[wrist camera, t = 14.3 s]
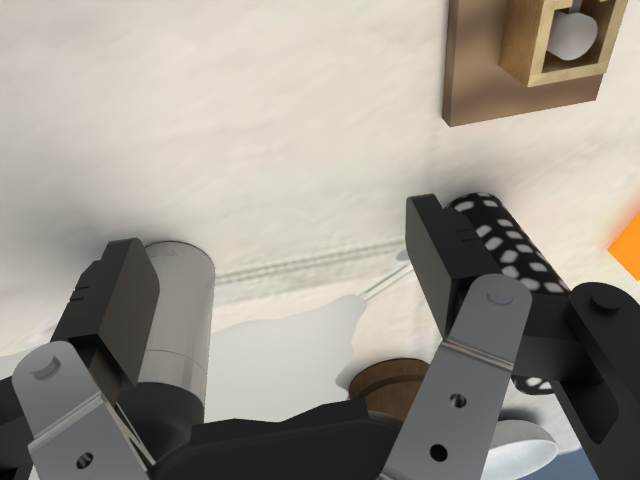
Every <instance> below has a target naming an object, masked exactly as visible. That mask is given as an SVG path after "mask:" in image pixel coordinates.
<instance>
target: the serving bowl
mask: <svg viewBox="0 0 640 480" xmlns="http://www.w3.org/2000/svg"><path fill="white" fill-rule="evenodd" d="M558 450H559V447H558V445H557V443H556V442H555V440H554V439H553V438H552V437H551V435H550V434H549V433H548V432H547V431H545V430H544V429H543V428H541V427H540V426H538V425H536V424H534V423H531V422H528V421H524V420H504V421H499V422H497V425H496V428H495V431H494V435H493V438H492V442H491V445H490V448H489V452H488V455H487V459H486V462H485V465H484V469H483V472H482V476H481V479H480V480H515V479H518V478H521V477H523V476H526V475H528V474H530V473H532V472H534V471H536V470H538V469H540V468H542V467H543V466H545V465H546V464H548V463H549V462H550V461H551V460H552V459H554V458H555V456H556V455H557V453H558Z"/></svg>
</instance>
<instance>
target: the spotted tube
mask: <svg viewBox="0 0 640 480" xmlns="http://www.w3.org/2000/svg"><path fill="white" fill-rule="evenodd" d="M451 207H453V208H455V209H456V210H458V211H459V212H461V213H462V214H464V215H465V216H467V218H468V219H469V221H470V223H471V224H472V226H473V227H474V230H476V232H477V233H478V235H479V237H480V240H482V241H483V243H484V244H485V246H486V247H487V249H488V250H489V252H490V254H491V255H492V257H493V258H494V260H495V261H496V263H497V264H498V266H499V268H500V269H501V271H502V272H503V274H504V275H507V276H510V277H513V278H515V279H517V280H519V281H520V282H522V283H523V284H524V285H525V286H526V287H527V288H528V289H529V291H530V292H533V293H537V294H545V295H556V296H567V297H569V296H570V293H571V290H570V289H569V288H568V287H567V285H566V284H565V283H564V282H563V280H562V279H561V278H560V276H559V275H558V274H557V273H556V271H555V270H554V269H553V268H552V266H551V265H550V264H549V263H548V261H547V260H546V259H545V257H544V256H543V255H542V254H541V252H540V251H539V250H538V249H537V247H536V246H535V245H534V244H533V242H532V241H531V240H530V238H529V237H528V236H527V235H526V233H525V232H524V231H523V230H522V228H521V227H520V226H519V225H518V223H517V222H516V221H515V219H514V218H513V217H512V216H511V214H510V213H509V212H508V211H507V209H506V208H505V207H504V206H503V204H502V203H501V202H500V200H499V199H498V198H496V197H495V196H493V195H490V194H486V193H474V194H469V195H466V196H463V197H461V198H459V199H457V200H455V201H453V202H452V203H450V204H449V205H448V206H447V207H446V208H451ZM511 379H512V381H513V383H514V385H515V387H516V389H518V390H519V391H520V392H522V393H525V394H529V395H548V394H553V393H554V391H553V390H552V388H551V386H550V384H549V382H548V380H547V379H540V378H533V377H525V376H518V375H511Z"/></svg>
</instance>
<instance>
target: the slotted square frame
mask: <svg viewBox="0 0 640 480" xmlns="http://www.w3.org/2000/svg"><path fill="white" fill-rule="evenodd" d="M627 2H628V0H582V2H581V6H580V11H579V13H582V14H584V15H587V16H589V17H592V18H593V19H594V20H595V21H596V23H597V35H596V38H595V40H594V42H593V44H592V46H591V47H590V48H589V49H588V50H587V51H586V52H585V53H584V54H583V55H581V56H580V57H578V58H576V59H573V60H563V59H561V58H560V57H558V56H556V55H554V54H552V53H551V52H549V51H547V50H546V49H547V44H548V39H549V34H550V29H551V25H552V20H553V15H554V10H557V9H563V8H568V7H572V3H573V0H508V2H507V9H506V16H505V23H504V30H503V37H502V44H501V51H500V58H499V65H498V66H499V67H500V68H502V69H503V70H505V71H506V72H507V73H509V74H510V75H511V76H513V77H514V78H515V79H517V80H518V81H519V82H521V83H522V84H523V85H525V86H526V87H533V86H538V85H543V84H549V83H554V82H560V81H565V80H571V79H576V78H582V77H587V76H593V75H598V74H604V73H606V70H607V67H608V64H609V60H610V57H611V54H612V51H613V47H614V44H615V41H616V38H617V34H618V31H619V28H620V25H621V21H622V18H623V15H624V12H625V8H626V5H627Z"/></svg>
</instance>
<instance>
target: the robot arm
mask: <svg viewBox="0 0 640 480" xmlns="http://www.w3.org/2000/svg"><path fill="white" fill-rule="evenodd" d="M405 239H406V248H407V252H408V256H409V258H410V261H411V263H412V266H413V268H414V271H415V273H416V275H417V278H418V280H419V283H420V285H421V288H422V290H423V292H424V295H425V297H426V300H427V302H428V304H429V307H430V309H431V312H432V314H433V317H434V319H435V321H436V324H437V326H438V329H439V331H440V334H441V336H442V338H443V340H442V341H441V343H440V345H439V347H438V349H437V351H436V353H435V355H434V358H433V360H432V362H431V364H430V366H429V369H428V371H427V373H426V375H425V378H424V380H423V382H422V384H421V386H420V389H419V391H418V393H417V395H416V397H415V400H414V402H413V404H412V406H411V408H410V411H409V413H408V415H407V417H406V420H405V421H403V420H401V419H399V418H397V417H395V416H392V415H389V414H386V413H381V412H377V411H369V410H368V409H367V405H366V400H365V398H360V399H354V400H347V401H341V402H335V403H329V404H323V405H320V406H318V407H316V408H313V409H311V410H308V411H306V412H304V413H301V414H299V415H297V416H294V417H292V418H290V419H287V420H285V421H282V422H266V421H256V420H245V419H229V420H222V421H216V422H210V423H204V409H205V397H206V383H207V382H206V381H207V368H208V357H209V345H210V332H211V320H212V307H213V297H214V284H215V268H214V265H213V263H212V261H211V260H210V258H209V257H208V256H207V255H206V254H205V253H203V252H202V251H201V250H199V249H197V248H195V247H193V246H190V245H188V244H183V243H178V242H163V243H157V244H153V245H150V246H148V247H146V248H144V246H143V244H142V243H141V241H140V240H139V239H138V238H129V239H123V240H116V241H110V242H109V243H108V245H107V247H106V249H105V251H104V253H103V256H102V258H101V260H98V261H94V262H93V263H92V264H91V265H90V266H89V267H88V268H87V269H86V270H85V271H84V272H83V273H82V274H81V276H80V279H79V281H78V283H77V285H76V287H75V291H73V293H72V296H71V298H70V302H69V303H68V304H67V306H66V308H65V310H64V312H63V315H62V317H61V319H60V321H59V323H58V325H57V327H56V329H55V332H54V334H53V336H52V338H51V340H50V342H49V343H47V344H45V345H42V346H40V347H38V348H37V349H35V350H33V351H32V352H30V353H29V354H28V355H27V356H25V357H24V358H23V359H22V360H21V362H20V363H19V364H18V365H17V367H16V368H15V371H14V373H13V375H12V376H10V377H8V378H5V379H3V380H0V480H28V479H29V476H30V473H31V470H32V467H33V464H34V466H35V468H36V471H37V473H38V476H39V479H40V480H480V479H481V476H482V472H483V469H484V465H485V462H486V459H487V455H488V452H489V448H490V445H491V442H492V438H493V435H494V431H495V428H496V425H497V421H498V418H499V414H500V411H501V407H502V404H503V401H504V397H505V394H506V390H507V387H508V384H509V380H510V377H511V375H518V376H525V377H533V378H540V379H547V380H548V382H549V384H550V386H551V388H552V390H553V391H554V393H555V395H556V397H557V399H558V401H559V403H560V405H561V407H562V409H563V411H564V413H565V414H566V416H567V418H568V420H569V422H570V424H571V426H572V428H573V430H574V432H575V434H576V436H577V438H578V439H579V441H580V443H581V445H582V447H583V449H584V451H585V453H586V455H587V456H588V459H589V461H590V462H591V464H592V466H593V468H594V470H595V472H596V474H597V476H598V478H599V480H640V305H639V304H638V303H637V302H636V301H635V300H634V299H633V298H632V297H631V296H630V295H629V294H628V293H626V292H625V291H623V290H621V289H619V288H617V287H615V286H612V285H609V284H605V283H599V282H587V283H582V284H579V285H578V286H576V287H575V288H574V289H573V290H572V291H571V293H570V296H569V297H567V296H556V295H545V294H537V293H533V292H530V291H529V289H528V288H527V287H526V286H525V285H524V284H523V283H522V282H520V281H519V280H517V279H515V278H513V277H510V276H507V275H504V274H503V272H502V271H501V269H500V268H499V266H498V264H497V263H496V261H495V260H494V258H493V257H492V255H491V254H490V252H489V250H488V249H487V247H486V246H485V244H484V243H483V241H482V240H480V237H479V235H478V233H477V232H476V230H474V227H473V226H472V224H471V223H470V221H469V219H468V218H467V216H465V215H464V214H462V213H461V212H459V211H458V210H456V209H455V208H453V207H451V208H444V209H443V208H442V207H441V205H440V203H439V201H438V200H437V198H436V196H435V195H434V194H433V193H431V194H424V195H418V196H411V197H408V198H407V202H406V234H405Z"/></svg>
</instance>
